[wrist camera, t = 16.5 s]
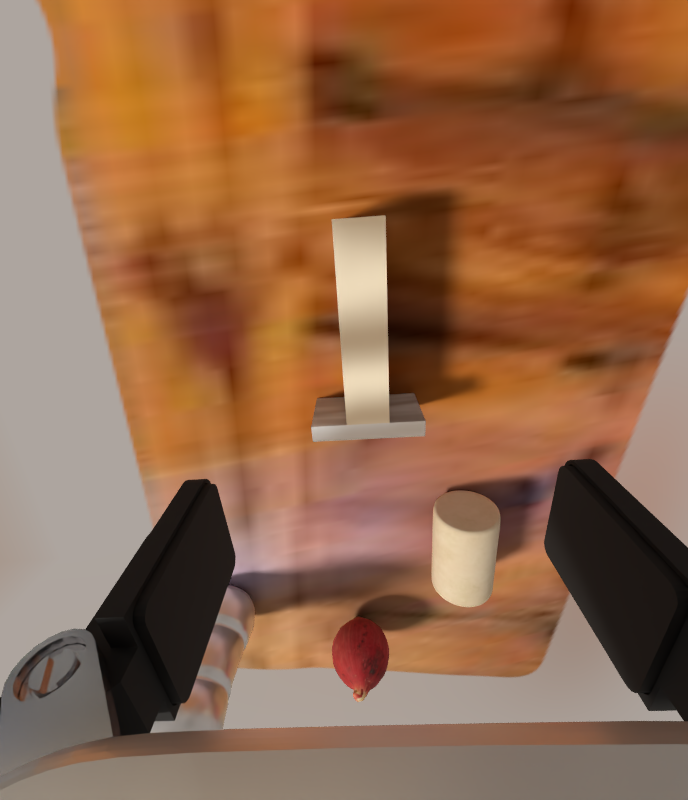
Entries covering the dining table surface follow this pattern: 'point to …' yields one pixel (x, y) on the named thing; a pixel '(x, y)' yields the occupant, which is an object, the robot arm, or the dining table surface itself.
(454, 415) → the dining table surface
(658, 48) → the dining table surface
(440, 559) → the candle
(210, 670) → the plastic bottle
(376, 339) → the cream upright plaque
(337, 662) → the onion
